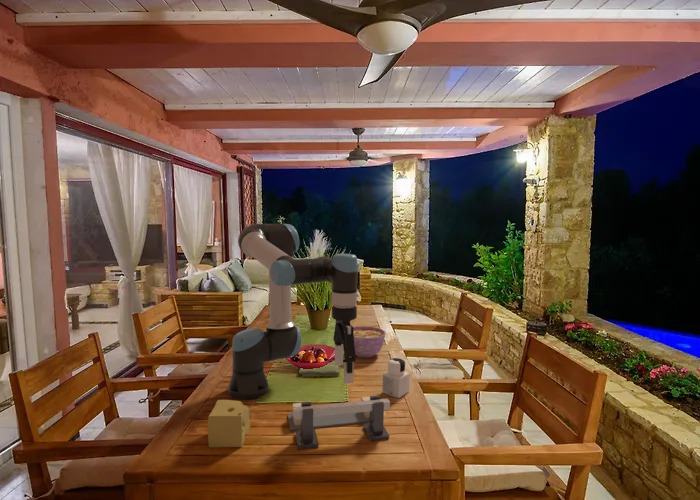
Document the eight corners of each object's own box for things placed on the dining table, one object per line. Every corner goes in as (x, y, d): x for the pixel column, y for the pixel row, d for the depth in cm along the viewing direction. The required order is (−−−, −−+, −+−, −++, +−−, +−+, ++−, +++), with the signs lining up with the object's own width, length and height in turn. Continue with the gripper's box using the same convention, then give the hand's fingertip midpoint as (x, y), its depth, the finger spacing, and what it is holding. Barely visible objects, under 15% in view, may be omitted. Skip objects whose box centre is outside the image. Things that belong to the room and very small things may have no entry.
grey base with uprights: (290, 430, 125) (290, 415, 125) (287, 415, 135) (287, 401, 135) (383, 420, 132) (383, 406, 132) (374, 406, 142) (374, 393, 142)
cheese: (250, 429, 126) (250, 399, 125) (242, 449, 115) (242, 416, 115) (217, 429, 126) (217, 399, 125) (206, 449, 115) (205, 416, 114)
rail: (294, 419, 117) (294, 411, 117) (293, 414, 120) (293, 407, 119) (389, 409, 124) (390, 401, 124) (387, 405, 126) (387, 398, 126)
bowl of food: (390, 351, 199) (391, 329, 198) (376, 365, 181) (377, 340, 180) (354, 345, 208) (355, 324, 207) (337, 357, 190) (337, 334, 189)
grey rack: (298, 449, 116) (298, 413, 115) (295, 434, 123) (295, 400, 122) (389, 438, 122) (390, 404, 121) (381, 425, 130) (382, 393, 129)
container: (392, 386, 159) (393, 355, 158) (409, 391, 155) (410, 359, 153) (381, 392, 153) (382, 360, 152) (398, 398, 149) (399, 365, 147)
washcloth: (300, 366, 179) (300, 359, 179) (339, 366, 180) (339, 359, 180) (298, 378, 166) (298, 370, 166) (340, 378, 167) (340, 371, 167)
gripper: (367, 315, 108) (366, 390, 109) (347, 296, 132) (346, 358, 134) (340, 316, 106) (339, 392, 108) (325, 297, 130) (324, 359, 132)
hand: (343, 373), depth 121 cm, fingers open, 13 cm apart
